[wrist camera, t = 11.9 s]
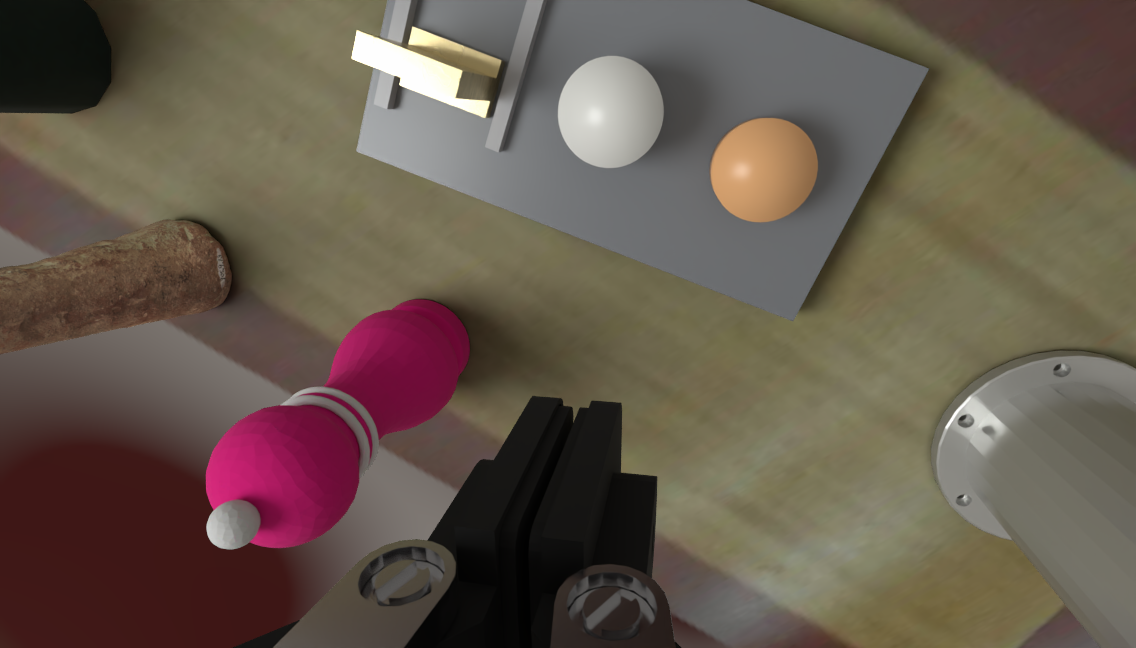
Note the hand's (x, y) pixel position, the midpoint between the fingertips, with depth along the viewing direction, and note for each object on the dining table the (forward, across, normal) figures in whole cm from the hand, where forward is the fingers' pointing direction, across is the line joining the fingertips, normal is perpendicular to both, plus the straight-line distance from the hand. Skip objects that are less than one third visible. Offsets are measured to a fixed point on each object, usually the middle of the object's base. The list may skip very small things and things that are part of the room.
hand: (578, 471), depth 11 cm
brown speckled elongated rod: (+25, +31, +2) cm, 40 cm away
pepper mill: (+26, +15, +8) cm, 31 cm away
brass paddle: (+23, +11, -9) cm, 27 cm away
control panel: (+26, +2, -7) cm, 27 cm away
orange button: (+24, -5, -4) cm, 25 cm away
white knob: (+22, +2, -7) cm, 23 cm away
